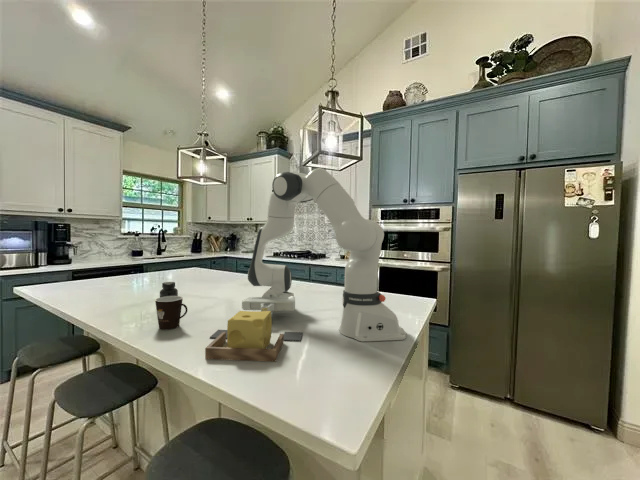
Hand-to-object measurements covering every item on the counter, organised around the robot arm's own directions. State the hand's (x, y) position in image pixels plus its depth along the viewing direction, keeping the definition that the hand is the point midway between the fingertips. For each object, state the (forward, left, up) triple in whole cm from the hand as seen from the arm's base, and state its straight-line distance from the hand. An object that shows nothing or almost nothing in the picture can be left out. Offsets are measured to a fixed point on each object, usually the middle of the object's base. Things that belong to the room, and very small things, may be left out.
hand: (264, 309), depth 105 cm
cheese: (0, +19, -7) cm, 20 cm away
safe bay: (0, +21, -6) cm, 22 cm away
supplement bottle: (+44, -16, -7) cm, 48 cm away
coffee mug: (+32, +4, -7) cm, 33 cm away
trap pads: (0, +9, -6) cm, 11 cm away
